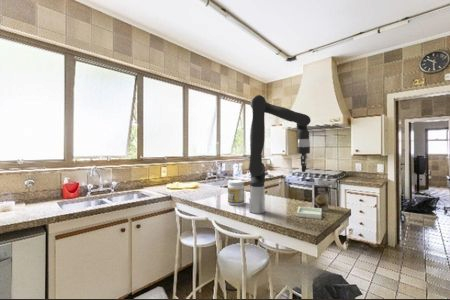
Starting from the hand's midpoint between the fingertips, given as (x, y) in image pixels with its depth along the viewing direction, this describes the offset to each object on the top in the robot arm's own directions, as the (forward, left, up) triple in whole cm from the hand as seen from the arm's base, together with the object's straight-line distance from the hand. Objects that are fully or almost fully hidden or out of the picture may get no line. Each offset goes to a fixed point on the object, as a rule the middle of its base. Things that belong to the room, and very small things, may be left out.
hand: (304, 170), depth 154 cm
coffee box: (+9, +8, -27) cm, 29 cm away
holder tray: (+3, -6, -27) cm, 28 cm away
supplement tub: (-49, +3, -27) cm, 55 cm away
